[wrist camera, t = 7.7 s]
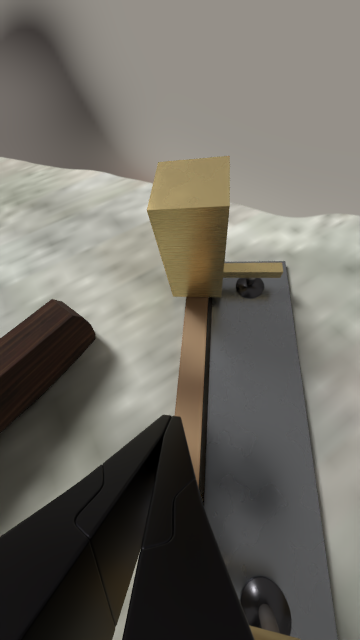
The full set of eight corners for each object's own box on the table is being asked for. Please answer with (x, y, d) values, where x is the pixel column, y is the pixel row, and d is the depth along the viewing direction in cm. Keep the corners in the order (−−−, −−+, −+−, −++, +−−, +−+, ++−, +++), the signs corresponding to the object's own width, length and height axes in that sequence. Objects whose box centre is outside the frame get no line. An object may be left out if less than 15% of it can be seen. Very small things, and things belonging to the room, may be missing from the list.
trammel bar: (289, 696, 10) (335, 857, 7) (145, 652, 12) (113, 767, 8) (258, 264, 21) (269, 232, 18) (186, 265, 23) (182, 235, 19)
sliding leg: (278, 301, 18) (338, 200, 10) (174, 299, 20) (146, 210, 11) (273, 262, 20) (321, 147, 12) (178, 263, 22) (158, 162, 13)
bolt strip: (343, 713, 10) (352, 731, 9) (197, 668, 11) (196, 682, 10) (283, 264, 21) (285, 260, 20) (213, 265, 22) (213, 261, 22)
